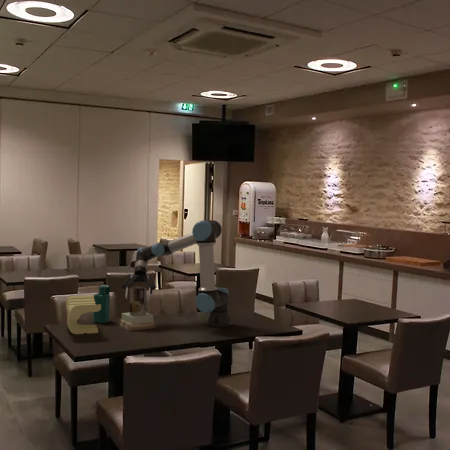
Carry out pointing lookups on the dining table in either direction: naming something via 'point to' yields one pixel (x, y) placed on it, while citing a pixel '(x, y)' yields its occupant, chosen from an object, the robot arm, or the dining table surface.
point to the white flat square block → (137, 318)
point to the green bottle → (102, 304)
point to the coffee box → (138, 300)
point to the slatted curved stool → (80, 313)
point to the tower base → (136, 325)
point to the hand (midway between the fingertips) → (137, 297)
